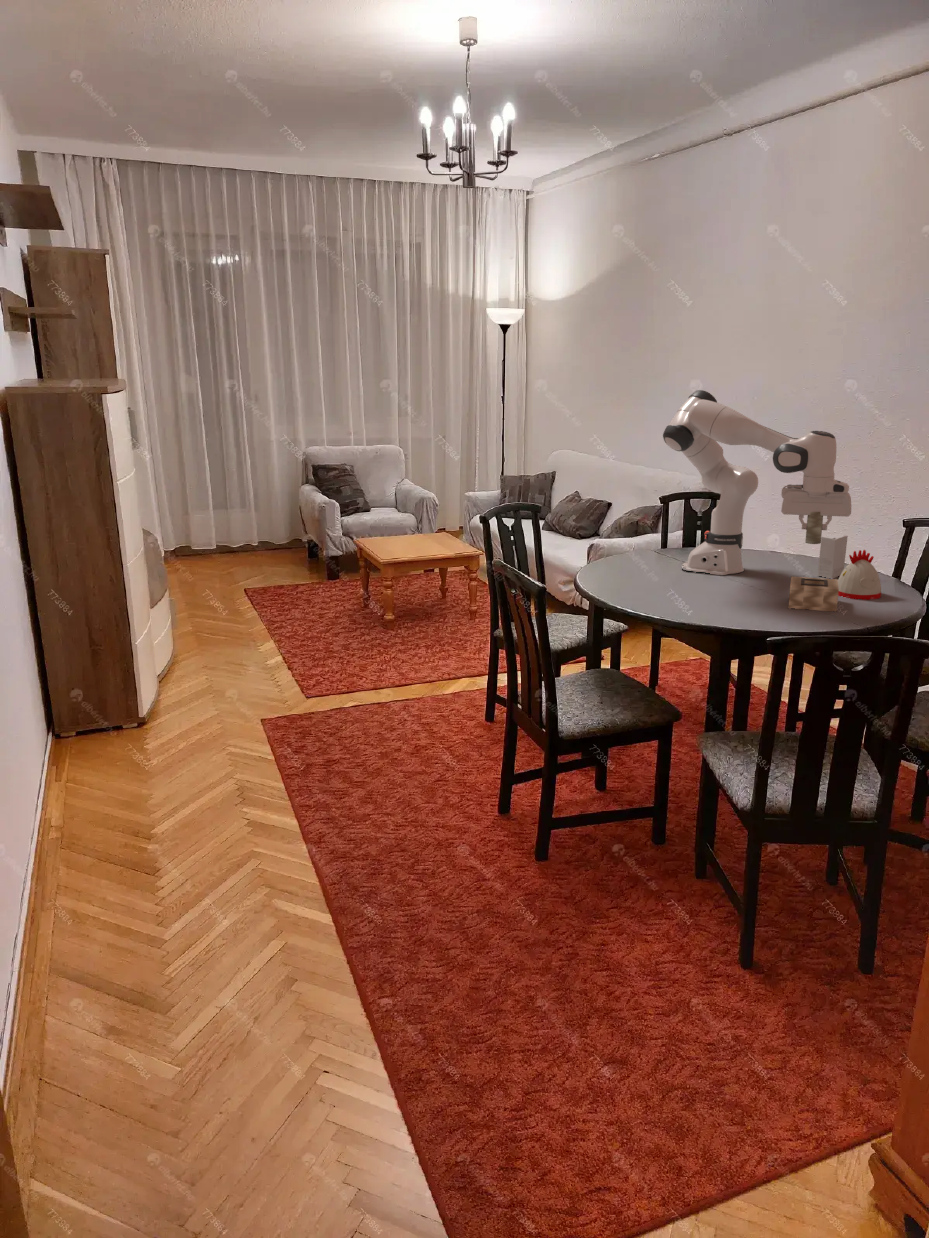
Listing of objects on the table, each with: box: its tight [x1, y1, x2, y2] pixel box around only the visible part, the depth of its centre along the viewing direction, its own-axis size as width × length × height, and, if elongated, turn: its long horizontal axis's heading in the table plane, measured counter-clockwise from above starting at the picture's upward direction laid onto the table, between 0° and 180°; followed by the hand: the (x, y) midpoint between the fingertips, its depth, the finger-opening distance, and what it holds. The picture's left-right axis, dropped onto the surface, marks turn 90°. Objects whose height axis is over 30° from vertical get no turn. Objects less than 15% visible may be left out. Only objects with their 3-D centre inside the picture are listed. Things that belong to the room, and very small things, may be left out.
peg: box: [805, 512, 824, 545], centre depth 270 cm, size 4×4×10 cm
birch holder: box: [787, 576, 839, 613], centre depth 276 cm, size 14×14×7 cm
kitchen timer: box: [838, 549, 882, 601], centre depth 285 cm, size 14×14×15 cm
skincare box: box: [817, 532, 848, 579], centre depth 309 cm, size 8×6×15 cm
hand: (814, 529), depth 270 cm, fingers closed on peg, 4 cm apart
